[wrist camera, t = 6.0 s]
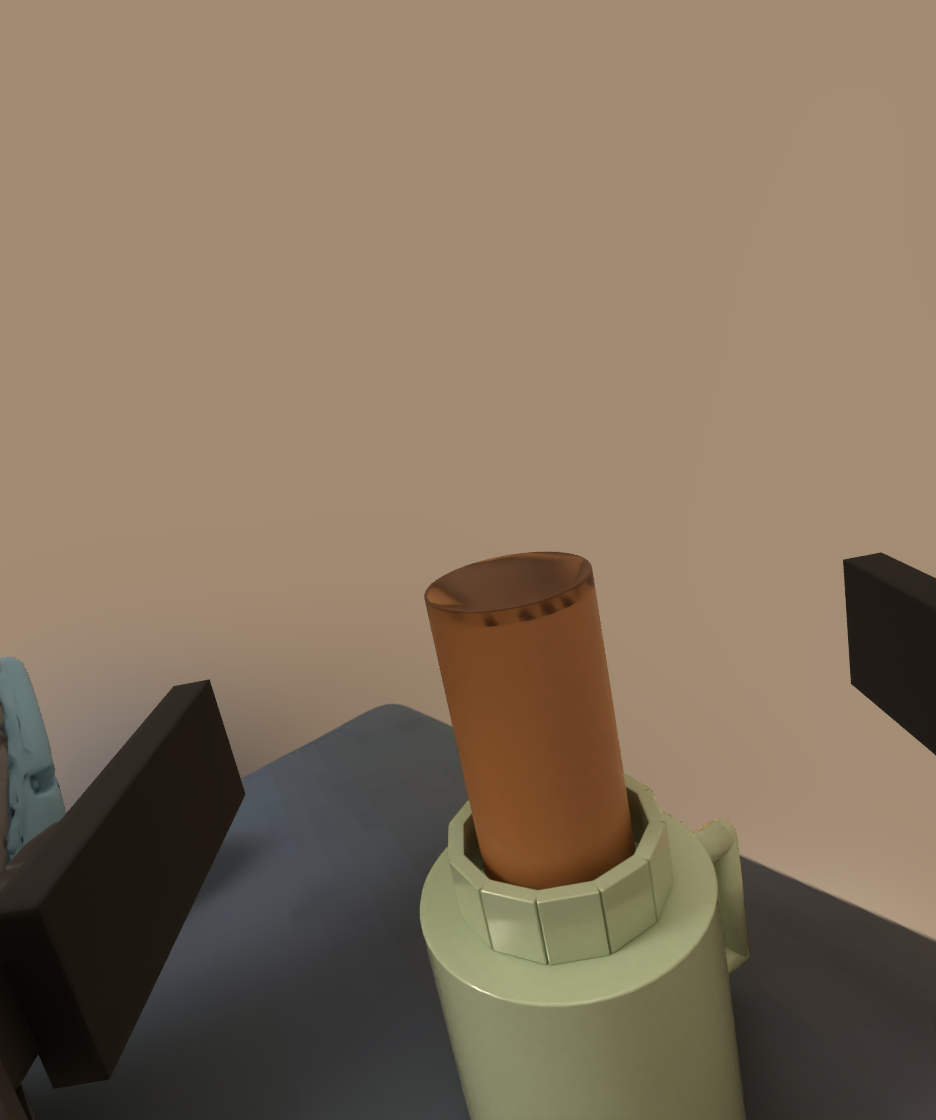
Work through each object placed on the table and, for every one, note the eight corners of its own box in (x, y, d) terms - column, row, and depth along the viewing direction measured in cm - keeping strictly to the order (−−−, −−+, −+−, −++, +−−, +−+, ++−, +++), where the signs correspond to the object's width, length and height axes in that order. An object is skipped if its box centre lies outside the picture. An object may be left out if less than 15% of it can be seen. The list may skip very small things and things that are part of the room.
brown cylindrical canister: (462, 878, 29) (396, 590, 26) (574, 814, 32) (526, 543, 29) (548, 964, 25) (480, 625, 21) (672, 880, 27) (628, 565, 24)
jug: (433, 1101, 34) (358, 824, 30) (665, 934, 40) (629, 688, 36) (591, 1358, 24) (513, 1004, 20) (861, 1086, 31) (841, 777, 27)
